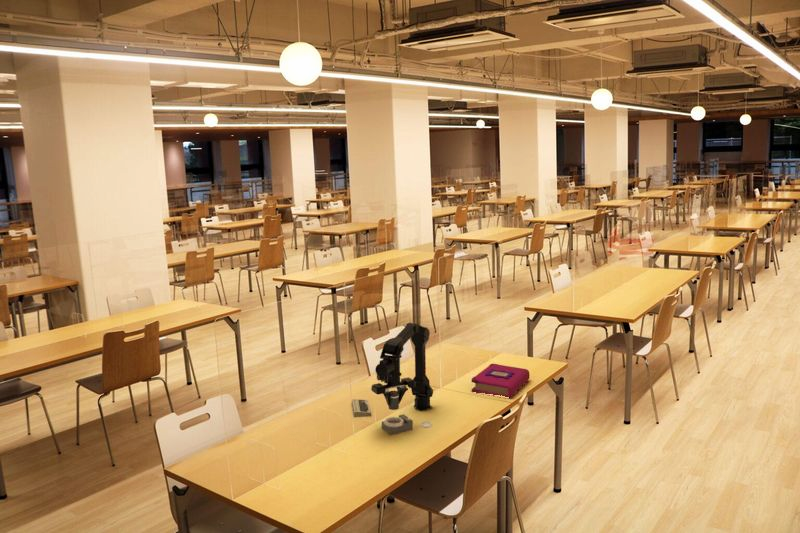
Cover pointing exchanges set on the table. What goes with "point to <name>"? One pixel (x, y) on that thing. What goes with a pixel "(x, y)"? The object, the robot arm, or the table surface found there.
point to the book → (500, 380)
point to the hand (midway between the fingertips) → (393, 404)
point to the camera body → (397, 424)
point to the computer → (361, 408)
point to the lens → (394, 400)
